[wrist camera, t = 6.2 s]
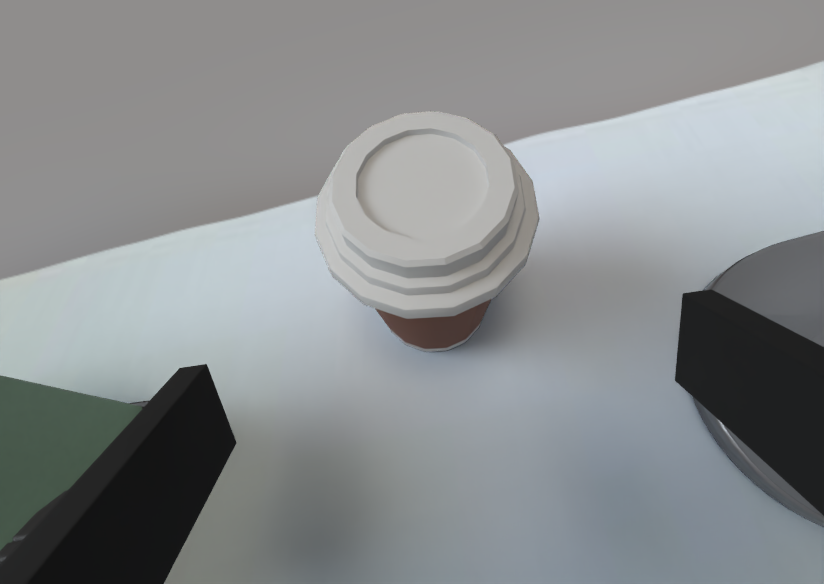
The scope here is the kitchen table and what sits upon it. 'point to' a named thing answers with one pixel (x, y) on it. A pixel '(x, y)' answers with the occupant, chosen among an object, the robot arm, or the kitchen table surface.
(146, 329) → the kitchen table surface
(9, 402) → the toaster
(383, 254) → the coffee cup
